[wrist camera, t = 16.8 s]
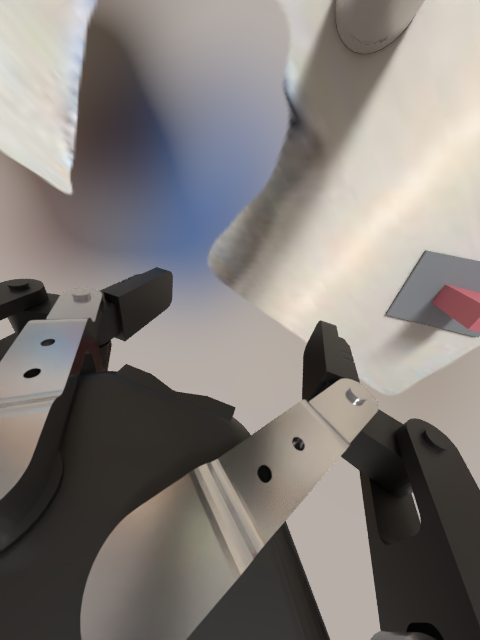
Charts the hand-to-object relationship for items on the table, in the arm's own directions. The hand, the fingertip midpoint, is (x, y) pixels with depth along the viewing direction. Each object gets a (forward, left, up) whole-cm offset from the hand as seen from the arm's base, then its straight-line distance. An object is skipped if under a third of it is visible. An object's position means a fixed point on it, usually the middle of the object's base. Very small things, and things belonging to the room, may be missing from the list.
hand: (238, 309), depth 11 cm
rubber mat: (+4, +32, -31) cm, 44 cm away
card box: (+4, +32, -30) cm, 44 cm away
